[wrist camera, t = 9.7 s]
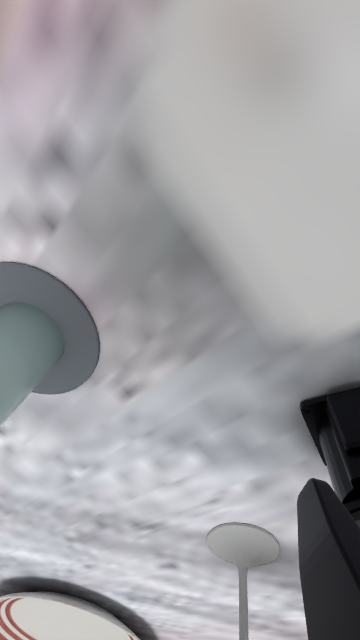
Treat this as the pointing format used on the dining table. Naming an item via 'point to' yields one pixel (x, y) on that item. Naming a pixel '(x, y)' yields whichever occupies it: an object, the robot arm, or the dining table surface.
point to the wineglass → (243, 556)
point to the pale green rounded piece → (25, 352)
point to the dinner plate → (57, 619)
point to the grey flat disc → (67, 312)
